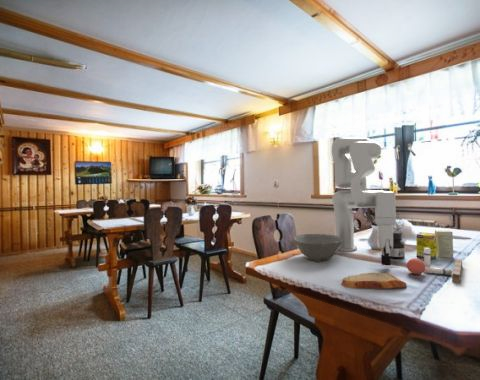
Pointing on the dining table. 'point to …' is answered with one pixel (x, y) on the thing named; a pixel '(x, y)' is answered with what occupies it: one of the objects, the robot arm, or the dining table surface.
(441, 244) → the skincare box
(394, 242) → the ink bottle
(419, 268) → the ball
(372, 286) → the slice of bread
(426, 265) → the pin
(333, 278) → the dining table surface
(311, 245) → the ceramic bowl
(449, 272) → the pin
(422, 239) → the supplement box
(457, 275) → the back rail
